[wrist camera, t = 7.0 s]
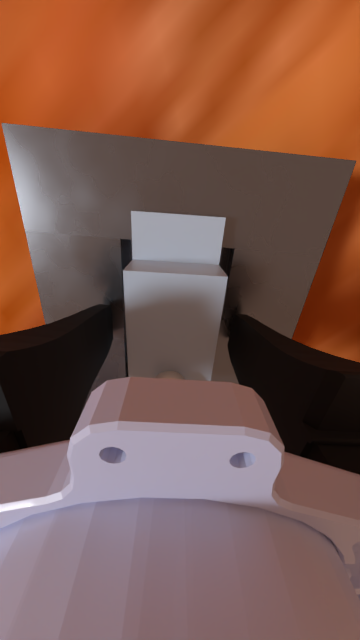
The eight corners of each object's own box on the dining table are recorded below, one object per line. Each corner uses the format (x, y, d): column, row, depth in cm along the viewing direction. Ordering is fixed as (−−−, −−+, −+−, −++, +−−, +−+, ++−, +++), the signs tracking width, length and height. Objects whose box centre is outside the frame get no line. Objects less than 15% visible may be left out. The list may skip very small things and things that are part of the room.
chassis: (248, 394, 19) (260, 425, 16) (82, 385, 18) (65, 416, 15) (314, 171, 12) (356, 161, 9) (44, 144, 11) (1, 123, 8)
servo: (141, 210, 12) (112, 211, 6) (214, 215, 12) (245, 221, 7) (143, 371, 17) (127, 446, 11) (195, 373, 17) (204, 449, 12)
